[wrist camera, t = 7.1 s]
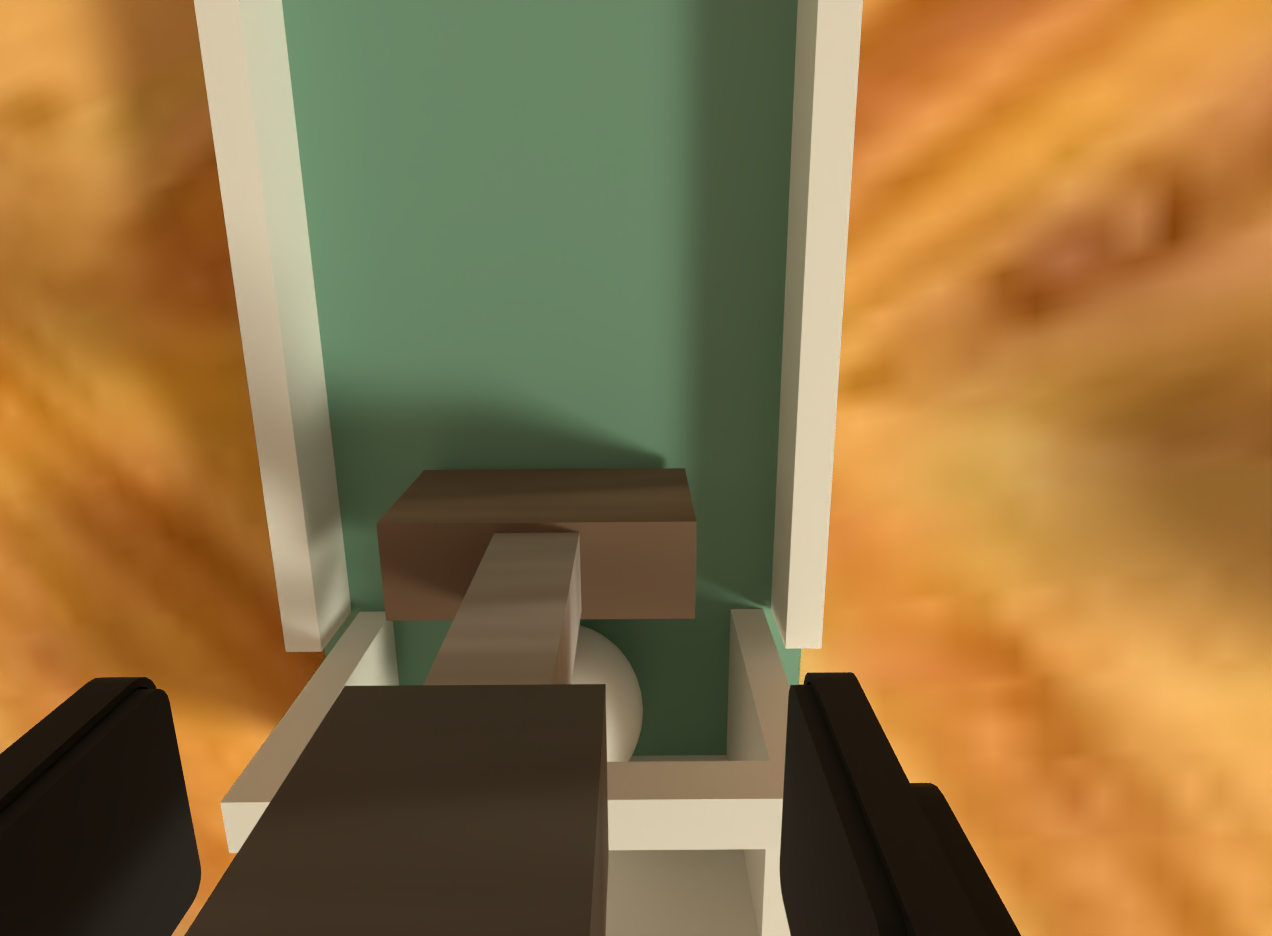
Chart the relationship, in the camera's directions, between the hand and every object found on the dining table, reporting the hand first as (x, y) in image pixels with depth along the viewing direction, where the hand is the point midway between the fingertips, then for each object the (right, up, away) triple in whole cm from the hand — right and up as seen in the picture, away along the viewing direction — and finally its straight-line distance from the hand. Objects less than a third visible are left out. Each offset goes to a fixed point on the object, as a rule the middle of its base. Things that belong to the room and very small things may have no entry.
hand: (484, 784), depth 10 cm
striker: (0, +3, +9) cm, 9 cm away
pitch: (0, +6, +9) cm, 11 cm away
